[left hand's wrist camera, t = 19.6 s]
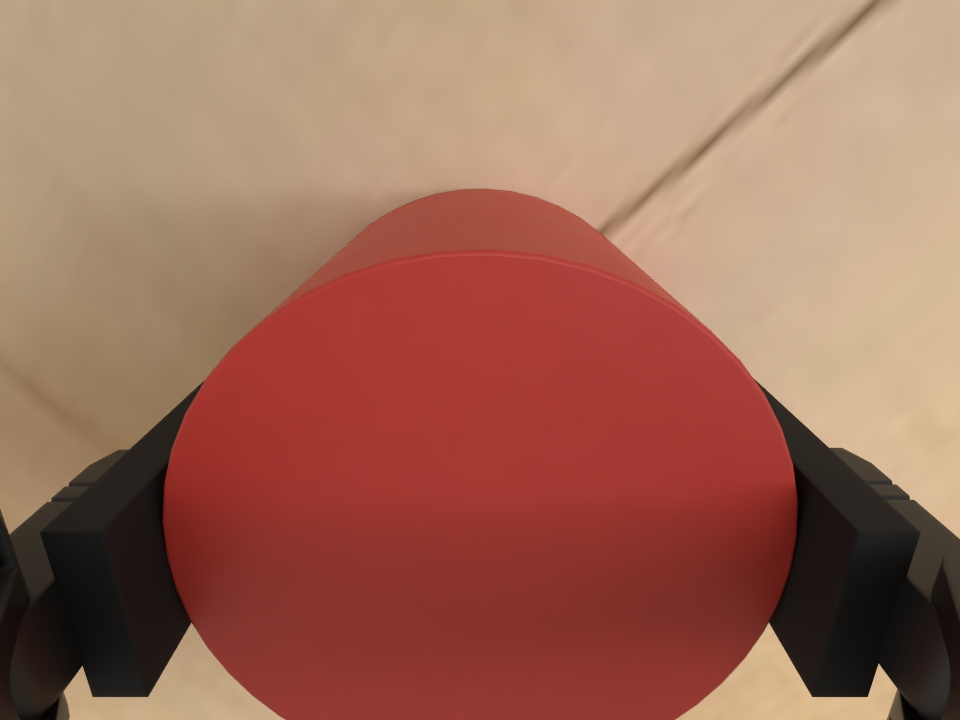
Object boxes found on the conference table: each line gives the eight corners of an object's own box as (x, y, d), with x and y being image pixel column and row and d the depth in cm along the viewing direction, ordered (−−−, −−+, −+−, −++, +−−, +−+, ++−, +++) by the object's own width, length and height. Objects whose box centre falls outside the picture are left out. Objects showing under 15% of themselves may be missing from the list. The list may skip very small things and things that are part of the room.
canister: (290, 182, 14) (100, 238, 7) (679, 193, 14) (877, 260, 7) (318, 510, 17) (207, 772, 10) (632, 518, 17) (735, 781, 10)
